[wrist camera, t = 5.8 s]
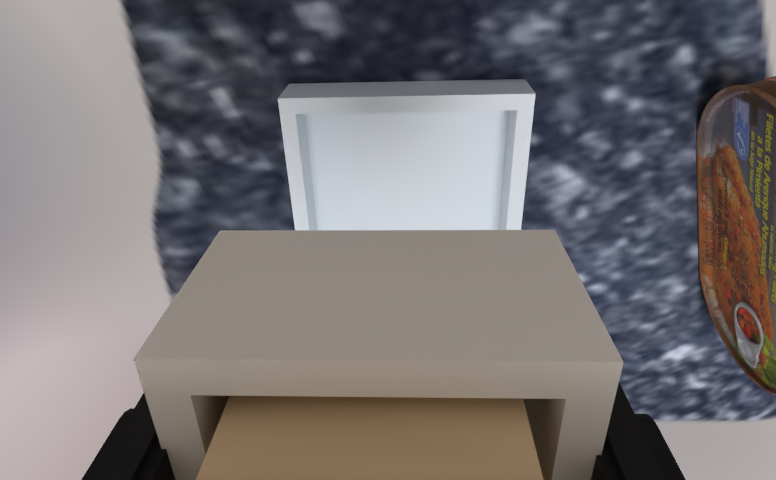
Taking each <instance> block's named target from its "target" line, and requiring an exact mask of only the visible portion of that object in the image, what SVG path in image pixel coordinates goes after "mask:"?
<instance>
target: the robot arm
mask: <svg viewBox="0 0 776 480" xmlns="http://www.w3.org/2000/svg"><path fill="white" fill-rule="evenodd" d="M82 480H175V476H174V473H173V470H172V466H171V463H170V460H169V457H168V453H167V450H166V449H161V446H160V443H159V439H158V436H157V433H156V430H155V426H154V423H153V420H152V417H151V413H150V410H149V407H148V404H147V400H146V397H145V394H144V393H143V395H142V397H141V398H140V400H139V402H138V404H137V405H136V407H135V408H134V409H129V410H127V411H126V412H125V413H124V414H123V415H122V416H121V418H120V419H119V421H118V422H117V424H116V425H115V427H114V428H113V430H112V432H111V433H110V435H109V437H108V438H107V440H106V441H105V443H104V444H103V446H102V448H101V450H100V451H99V453H98V454H97V456H96V457H95V459H94V461H93V462H92V464H91V466H90V467H89V469H88V470H87V472H86V473H85V475H84V477H83V478H82ZM591 480H685V478H684V476H683V474H682V472H681V470H680V468H679V466H678V465H677V463H676V461H675V459H674V457H673V455H672V453H671V451H670V449H669V447H668V445H667V444H666V442H665V440H664V438H663V436H662V434H661V432H660V430H659V429H658V426H657V425H656V423H655V422H654V420H653V419H652V418H651V417H650V416H649V415H648V414H634V412H633V410H632V408H631V406H630V404H629V402H628V400H627V398H626V396H625V394H624V391H623V389H622V387H621V385H620V383H618V387H617V392H616V396H615V400H614V404H613V408H612V413H611V417H610V421H609V425H608V430H607V434H606V438H605V442H604V446H603V451H602V455H596V459H595V464H594V468H593V472H592V477H591Z"/></svg>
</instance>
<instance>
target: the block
mask: <svg viewBox="0 0 776 480" xmlns="http://www.w3.org/2000/svg"><path fill="white" fill-rule="evenodd" d="M196 480H543V476H542V472H541V468H540V464H539V460H538V456H537V452H536V448H535V444H534V440H533V436H532V432H531V429H530V425H529V421H528V417H527V413H526V409H525V405H524V401H523V398H421V397H318V396H229V398H228V401H227V403H226V406H225V408H224V411H223V413H222V416H221V418H220V421H219V423H218V426H217V428H216V431H215V433H214V436H213V438H212V441H211V443H210V446H209V448H208V451H207V453H206V456H205V458H204V460H203V463H202V465H201V468H200V470H199V473H198V475H197V478H196Z"/></svg>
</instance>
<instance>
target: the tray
mask: <svg viewBox="0 0 776 480" xmlns="http://www.w3.org/2000/svg"><path fill="white" fill-rule="evenodd" d="M534 103H535V92H534V91H533V90H532V88H531V87H530V85H529V84H528V83H527V81H526V80H525V79H499V80H449V81H400V82H350V83H301V84H288V86H287V87H286V88H285V90H284V91H283V92H282V94H281V95H280V96H279V97H278V105H279V112H280V120H281V127H282V135H283V143H284V150H285V158H286V165H287V173H288V180H289V188H290V195H291V203H292V210H293V218H294V225H295V230H521V224H522V215H523V206H524V196H525V187H526V178H527V168H528V159H529V150H530V140H531V131H532V121H533V112H534Z"/></svg>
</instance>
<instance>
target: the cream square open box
mask: <svg viewBox="0 0 776 480" xmlns="http://www.w3.org/2000/svg"><path fill="white" fill-rule="evenodd" d="M134 361H135V365H136V368H137V371H138V374H139V378H140V381H141V384H142V387H143V391H144V394H145V397H146V400H147V404H148V407H149V410H150V413H151V417H152V420H153V423H154V426H155V430H156V433H157V436H158V439H159V443H160V446H161V449H166V450H167V453H168V457H169V460H170V463H171V466H172V470H173V473H174V476H175V480H196V478H197V475H198V473H199V470H200V468H201V465H202V463H203V460H204V458H205V456H206V453H207V451H208V448H209V446H210V443H211V441H212V438H213V436H214V433H215V431H216V428H217V426H218V423H219V421H220V418H221V416H222V413H223V411H224V408H225V406H226V403H227V401H228V398H229V396H318V397H421V398H523V401H524V405H525V409H526V413H527V417H528V421H529V425H530V429H531V432H532V436H533V440H534V444H535V448H536V452H537V456H538V460H539V464H540V468H541V472H542V476H543V480H591V477H592V472H593V468H594V464H595V459H596V455H602V451H603V446H604V442H605V438H606V434H607V430H608V425H609V421H610V417H611V413H612V408H613V404H614V400H615V396H616V392H617V387H618V383H619V379H620V375H621V371H622V366H623V360H622V358H621V357H620V355H619V353H618V351H617V349H616V347H615V345H614V343H613V341H612V339H611V337H610V335H609V333H608V332H607V330H606V328H605V326H604V324H603V322H602V320H601V318H600V316H599V314H598V312H597V310H596V309H595V307H594V305H593V303H592V301H591V299H590V297H589V295H588V293H587V291H586V289H585V287H584V285H583V284H582V282H581V280H580V278H579V276H578V274H577V272H576V270H575V268H574V266H573V264H572V262H571V260H570V259H569V257H568V255H567V253H566V251H565V249H564V247H563V245H562V243H561V241H560V239H559V237H558V236H557V234H556V232H555V230H270V231H219V233H218V234H217V236H216V237H215V239H214V240H213V242H212V243H211V245H210V246H209V248H208V249H207V251H206V252H205V253H204V255H203V256H202V258H201V259H200V261H199V262H198V264H197V265H196V267H195V268H194V270H193V271H192V273H191V274H190V276H189V277H188V279H187V280H186V282H185V283H184V285H183V286H182V288H181V289H180V291H179V292H178V294H177V295H176V297H175V298H174V300H173V301H172V303H171V304H170V306H169V307H168V309H167V310H166V311H165V313H164V314H163V316H162V317H161V319H160V320H159V322H158V323H157V325H156V326H155V328H154V329H153V331H152V332H151V334H150V335H149V337H148V338H147V340H146V341H145V343H144V344H143V346H142V347H141V349H140V350H139V352H138V353H137V355H136V356H135V358H134Z"/></svg>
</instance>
